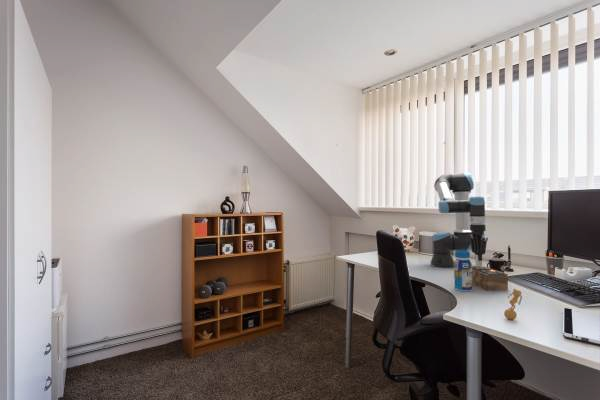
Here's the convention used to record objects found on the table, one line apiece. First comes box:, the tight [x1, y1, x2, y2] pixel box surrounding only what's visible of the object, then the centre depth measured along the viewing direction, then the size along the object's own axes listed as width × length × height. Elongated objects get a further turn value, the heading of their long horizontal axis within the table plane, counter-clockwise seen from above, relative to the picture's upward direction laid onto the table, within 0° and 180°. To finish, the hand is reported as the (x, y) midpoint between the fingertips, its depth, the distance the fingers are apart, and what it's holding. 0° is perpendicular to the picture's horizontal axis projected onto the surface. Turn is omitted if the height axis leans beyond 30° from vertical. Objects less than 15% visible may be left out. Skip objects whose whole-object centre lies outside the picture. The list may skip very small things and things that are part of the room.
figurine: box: [503, 288, 523, 321], centre depth 119 cm, size 8×6×12 cm
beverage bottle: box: [453, 250, 473, 292], centre depth 158 cm, size 8×8×20 cm
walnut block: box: [471, 265, 509, 292], centre depth 164 cm, size 18×11×9 cm, turn 5°
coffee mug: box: [486, 257, 506, 273], centre depth 183 cm, size 12×9×10 cm
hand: (478, 266), depth 169 cm, fingers closed
